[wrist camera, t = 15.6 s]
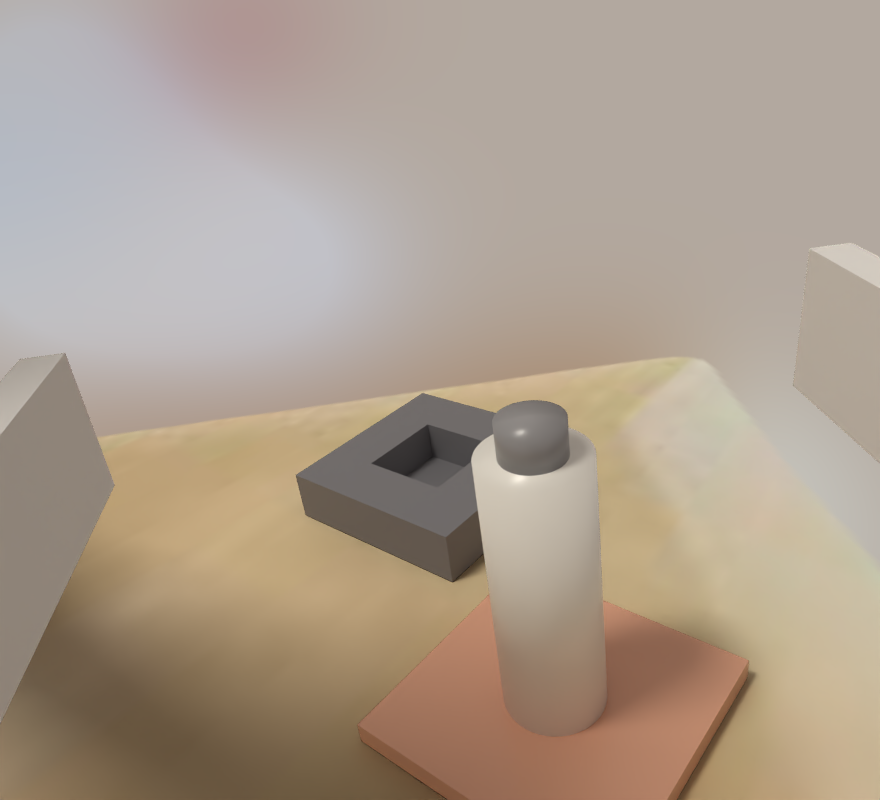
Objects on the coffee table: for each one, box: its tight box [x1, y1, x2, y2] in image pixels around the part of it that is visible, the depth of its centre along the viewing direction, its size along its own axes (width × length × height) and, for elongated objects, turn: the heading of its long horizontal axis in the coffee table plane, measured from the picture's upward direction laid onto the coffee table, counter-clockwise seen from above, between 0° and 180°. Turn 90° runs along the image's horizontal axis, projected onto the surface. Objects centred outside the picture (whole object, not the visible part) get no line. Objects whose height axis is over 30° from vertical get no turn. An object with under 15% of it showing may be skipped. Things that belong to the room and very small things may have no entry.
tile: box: [357, 595, 749, 800], centre depth 33 cm, size 12×12×1 cm
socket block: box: [296, 393, 496, 582], centre depth 49 cm, size 12×12×3 cm
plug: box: [471, 400, 607, 737], centre depth 30 cm, size 4×4×14 cm
